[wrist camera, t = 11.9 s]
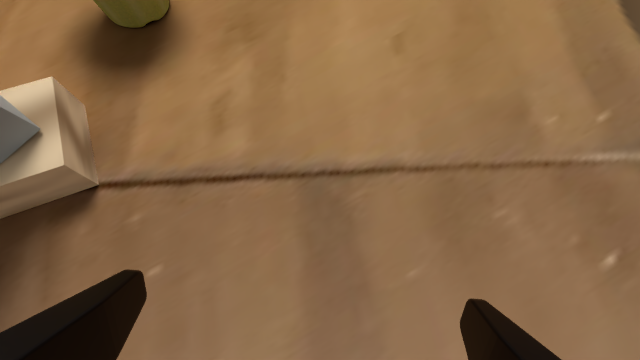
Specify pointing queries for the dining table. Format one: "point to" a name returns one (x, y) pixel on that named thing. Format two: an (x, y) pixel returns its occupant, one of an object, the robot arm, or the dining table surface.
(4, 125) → the slate post
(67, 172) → the birch base
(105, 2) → the plant pot
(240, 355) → the dining table surface
